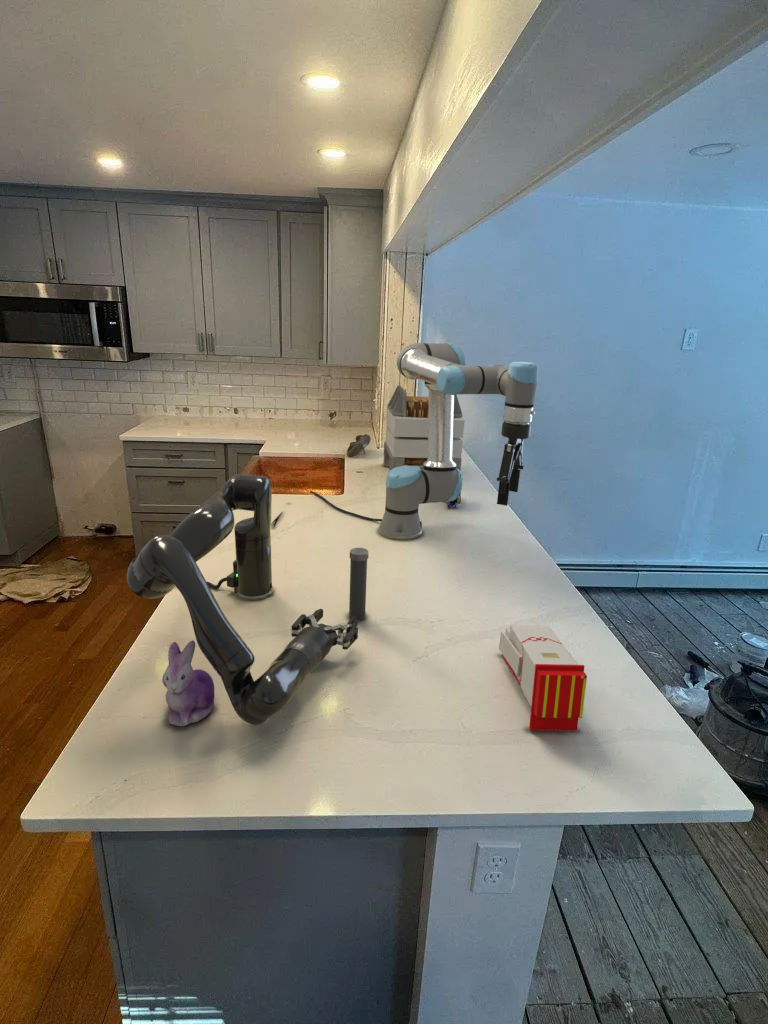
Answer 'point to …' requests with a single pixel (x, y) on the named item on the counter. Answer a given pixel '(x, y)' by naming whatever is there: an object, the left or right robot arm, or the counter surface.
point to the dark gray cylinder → (357, 589)
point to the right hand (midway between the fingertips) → (507, 497)
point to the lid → (358, 554)
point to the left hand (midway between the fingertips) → (338, 616)
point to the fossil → (358, 445)
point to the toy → (545, 676)
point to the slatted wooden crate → (415, 431)
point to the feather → (276, 520)
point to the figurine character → (454, 501)
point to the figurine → (187, 687)
